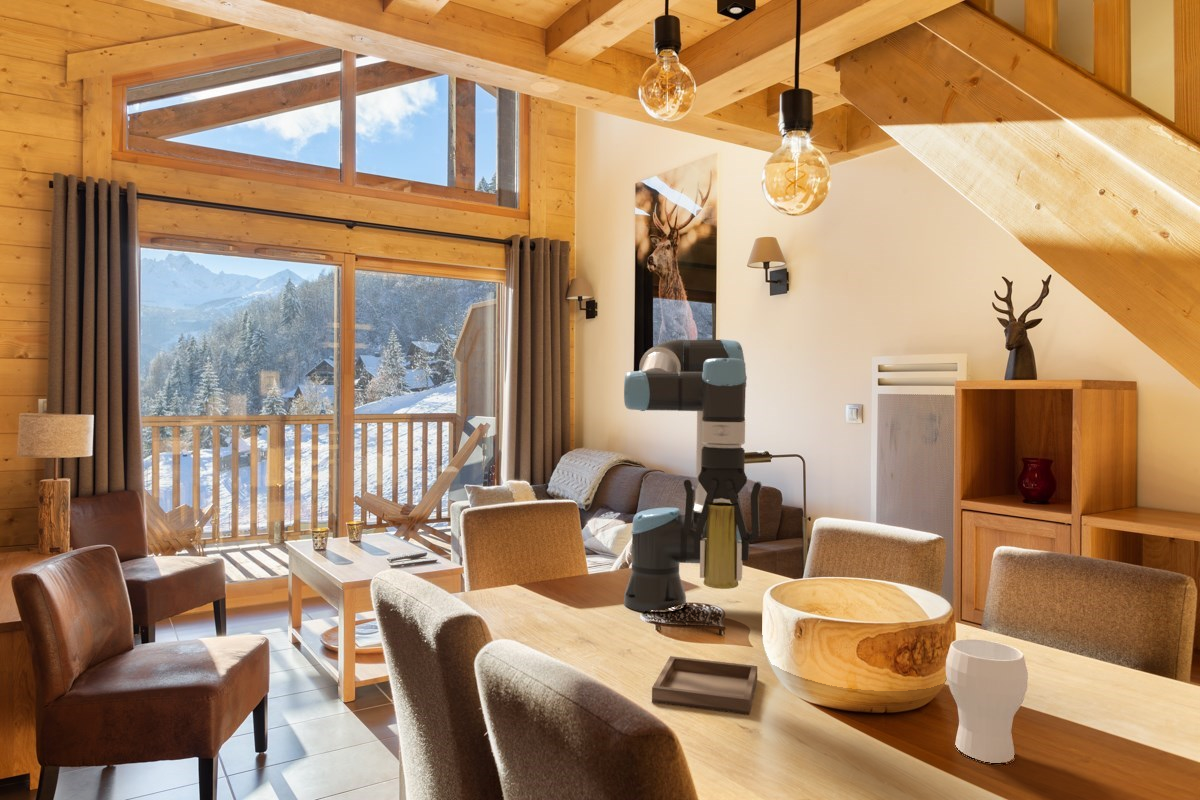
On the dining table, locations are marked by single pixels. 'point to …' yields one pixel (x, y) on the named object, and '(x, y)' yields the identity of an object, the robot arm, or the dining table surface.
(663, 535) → the robot arm
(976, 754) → the cup
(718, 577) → the vase
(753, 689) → the walnut tray
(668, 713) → the dining table surface
